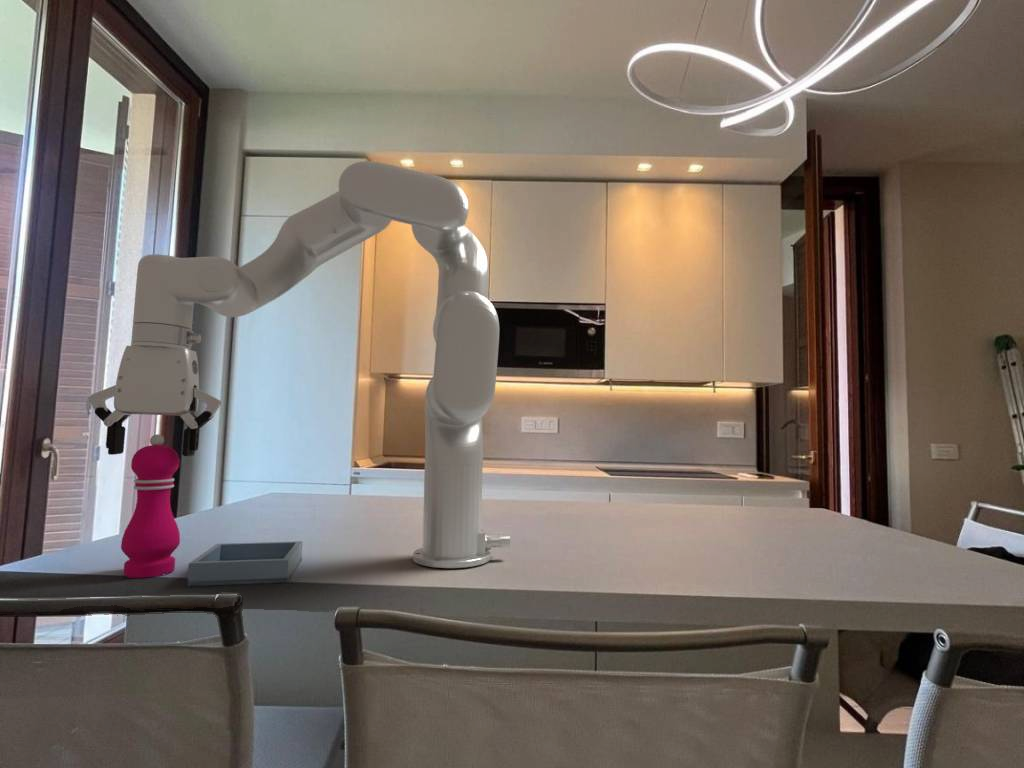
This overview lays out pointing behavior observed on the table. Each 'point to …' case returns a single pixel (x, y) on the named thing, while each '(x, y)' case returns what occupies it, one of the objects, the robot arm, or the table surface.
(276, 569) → the tray
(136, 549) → the pepper mill
